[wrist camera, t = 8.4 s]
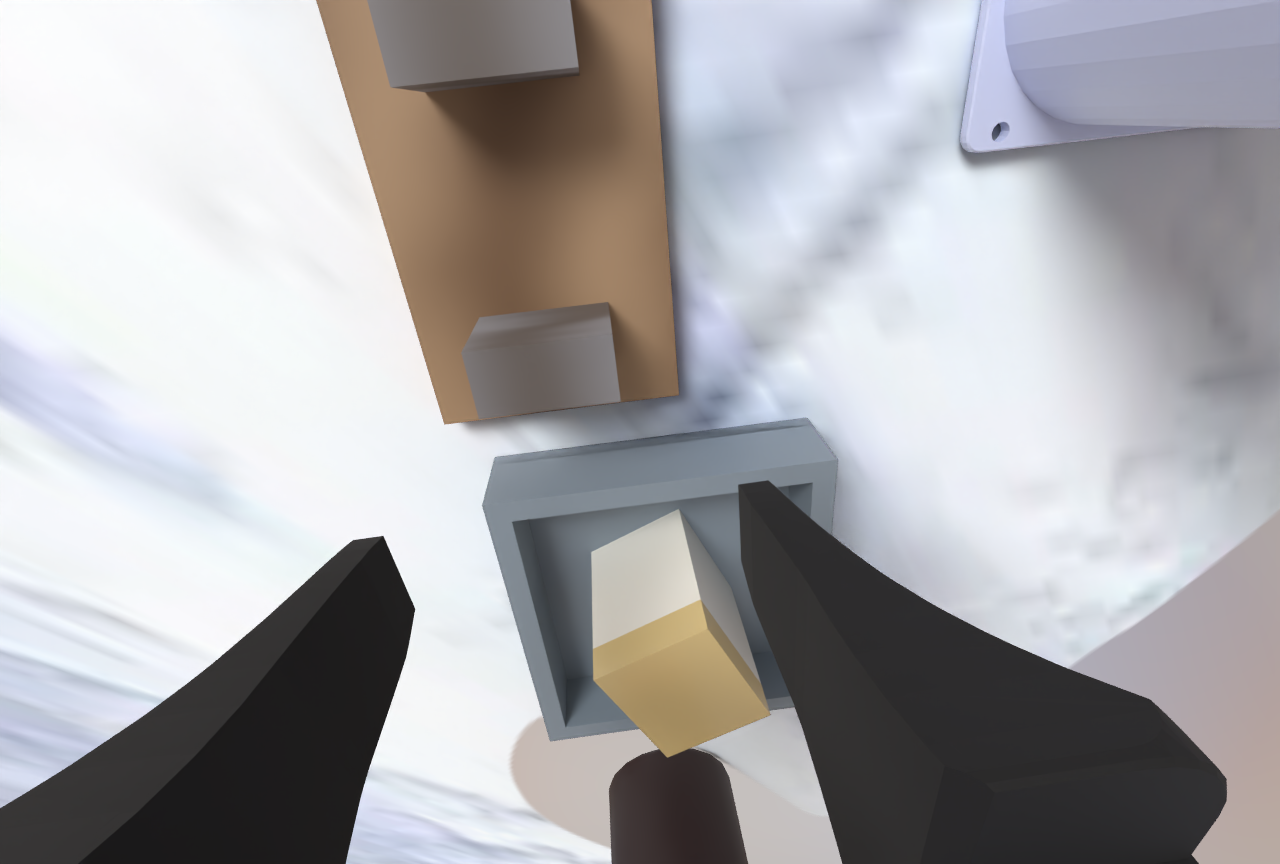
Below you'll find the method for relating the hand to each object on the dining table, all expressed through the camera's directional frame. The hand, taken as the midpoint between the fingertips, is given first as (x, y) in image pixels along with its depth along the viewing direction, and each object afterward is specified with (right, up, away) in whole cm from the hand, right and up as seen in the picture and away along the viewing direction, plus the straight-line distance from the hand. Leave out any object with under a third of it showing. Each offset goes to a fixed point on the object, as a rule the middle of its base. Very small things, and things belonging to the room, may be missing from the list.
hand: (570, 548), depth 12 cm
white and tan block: (+2, -3, +12) cm, 13 cm away
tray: (+3, -3, +13) cm, 13 cm away
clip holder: (-2, +9, +5) cm, 11 cm away
